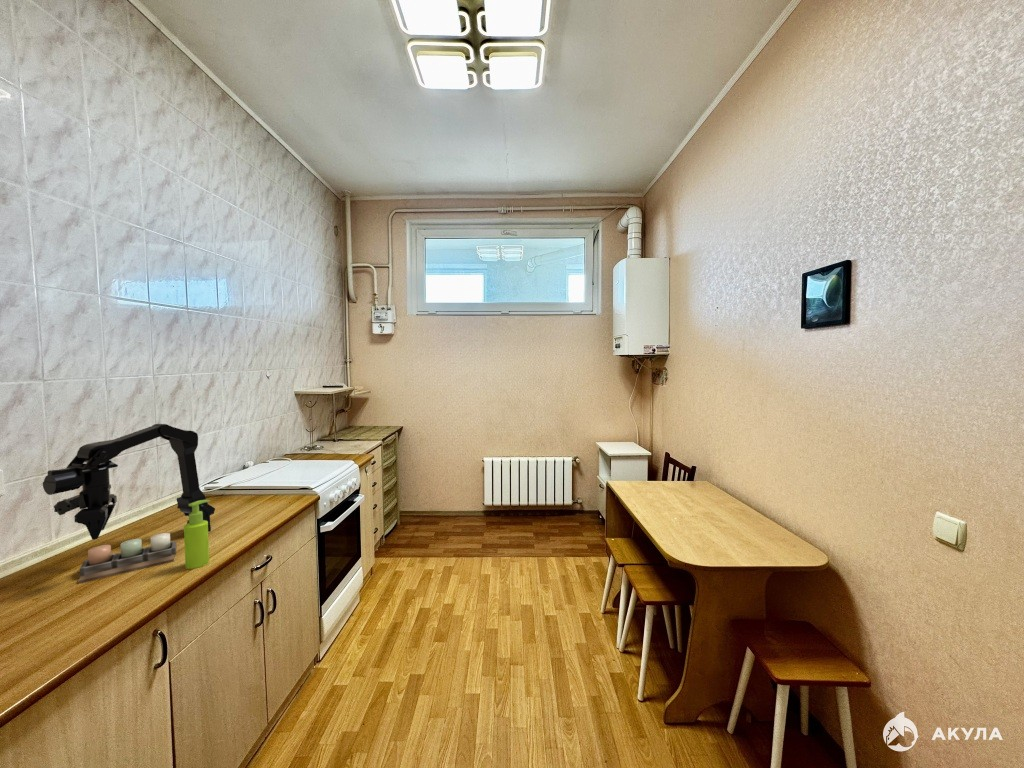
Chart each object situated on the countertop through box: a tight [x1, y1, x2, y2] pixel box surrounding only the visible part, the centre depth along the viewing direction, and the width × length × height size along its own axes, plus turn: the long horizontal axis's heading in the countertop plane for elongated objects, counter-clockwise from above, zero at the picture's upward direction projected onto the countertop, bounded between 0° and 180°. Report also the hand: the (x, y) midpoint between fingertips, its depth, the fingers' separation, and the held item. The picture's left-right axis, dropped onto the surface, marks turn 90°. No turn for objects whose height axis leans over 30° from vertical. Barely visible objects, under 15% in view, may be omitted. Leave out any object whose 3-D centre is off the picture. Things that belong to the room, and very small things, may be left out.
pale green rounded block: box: [120, 538, 143, 558], centre depth 125 cm, size 5×5×4 cm
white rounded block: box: [150, 532, 171, 551], centre depth 129 cm, size 5×5×4 cm
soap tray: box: [77, 540, 178, 584], centre depth 125 cm, size 22×14×3 cm, turn 128°
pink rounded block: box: [87, 544, 112, 565], centre depth 120 cm, size 5×5×4 cm
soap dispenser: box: [183, 499, 211, 570], centre depth 124 cm, size 6×7×20 cm
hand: (98, 534), depth 120 cm, fingers open, 8 cm apart
